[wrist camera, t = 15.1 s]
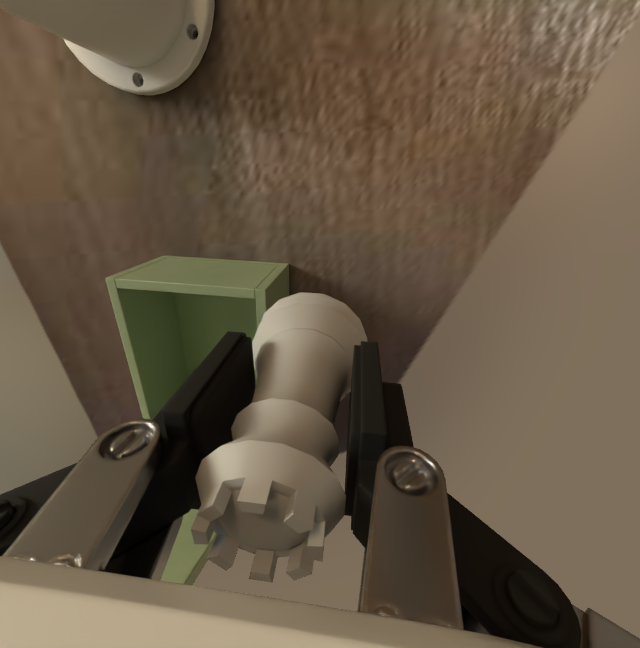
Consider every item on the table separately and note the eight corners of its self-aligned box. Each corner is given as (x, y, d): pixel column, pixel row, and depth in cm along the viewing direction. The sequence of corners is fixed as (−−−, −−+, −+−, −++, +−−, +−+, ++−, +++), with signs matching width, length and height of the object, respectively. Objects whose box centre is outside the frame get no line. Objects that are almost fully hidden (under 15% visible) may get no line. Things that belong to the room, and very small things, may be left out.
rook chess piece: (386, 356, 13) (421, 586, 6) (298, 396, 14) (240, 619, 7) (330, 266, 11) (283, 422, 4) (239, 320, 13) (91, 503, 6)
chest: (163, 255, 31) (104, 277, 24) (289, 263, 29) (265, 289, 22) (187, 385, 37) (146, 432, 30) (290, 396, 36) (272, 448, 29)
